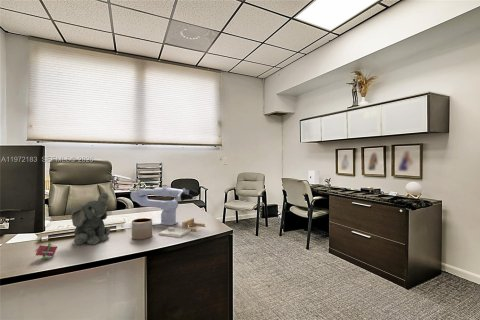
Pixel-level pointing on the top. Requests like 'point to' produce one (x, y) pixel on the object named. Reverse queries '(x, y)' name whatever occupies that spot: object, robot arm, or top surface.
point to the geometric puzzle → (46, 250)
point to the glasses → (191, 224)
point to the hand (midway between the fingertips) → (195, 195)
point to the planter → (141, 228)
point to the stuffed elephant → (91, 221)
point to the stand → (175, 232)
